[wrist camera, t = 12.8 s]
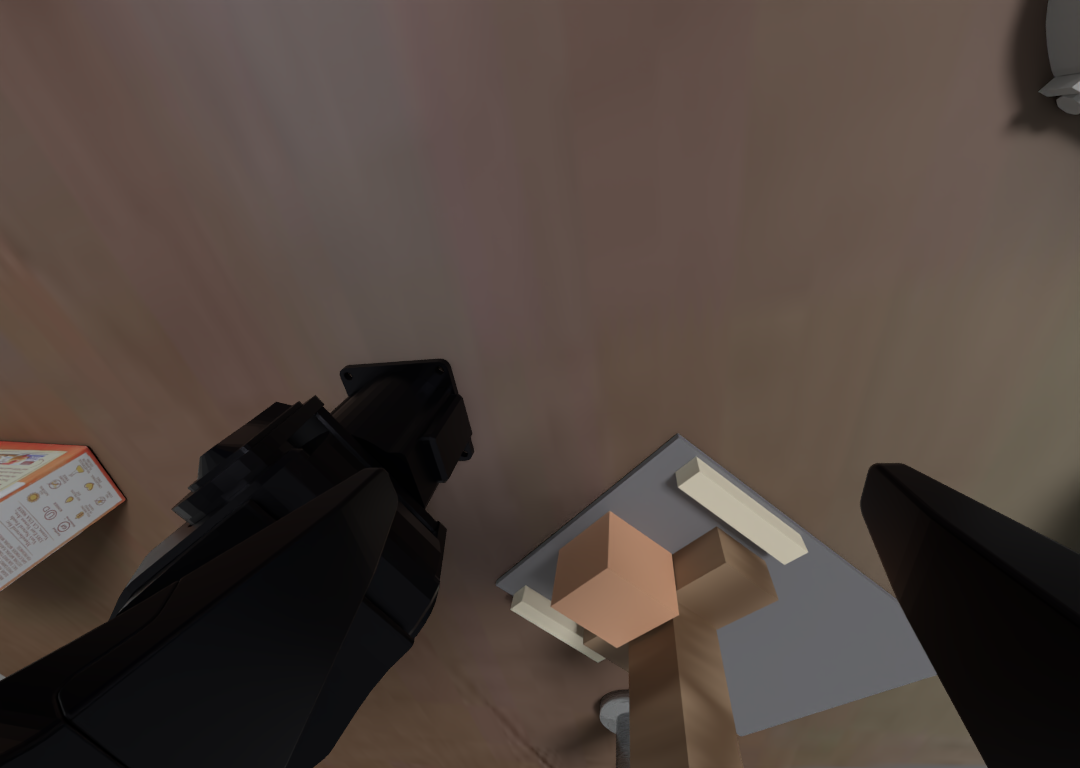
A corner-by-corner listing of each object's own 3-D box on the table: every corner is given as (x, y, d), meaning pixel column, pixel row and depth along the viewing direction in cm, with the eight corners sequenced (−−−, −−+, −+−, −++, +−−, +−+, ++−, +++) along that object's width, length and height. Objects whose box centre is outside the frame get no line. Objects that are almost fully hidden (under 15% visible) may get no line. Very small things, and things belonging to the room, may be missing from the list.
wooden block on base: (585, 609, 30) (566, 847, 20) (716, 526, 24) (785, 802, 14) (628, 635, 31) (630, 880, 21) (765, 561, 25) (865, 848, 15)
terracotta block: (559, 549, 28) (550, 606, 24) (609, 510, 25) (607, 567, 22) (617, 587, 29) (616, 647, 25) (671, 553, 26) (679, 615, 23)
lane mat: (497, 580, 31) (491, 600, 30) (677, 433, 22) (681, 452, 21) (740, 730, 35) (745, 754, 34) (971, 655, 27) (990, 683, 25)
